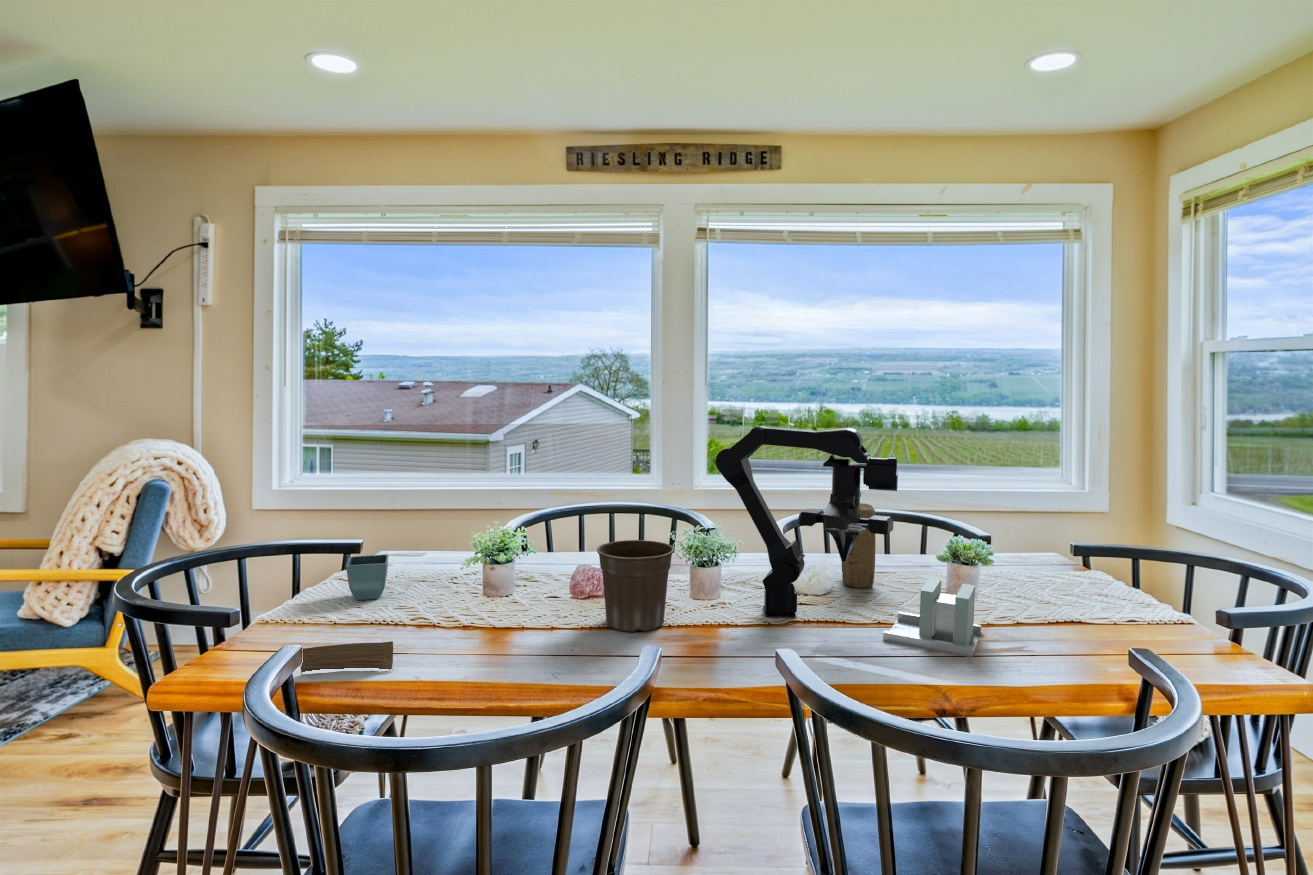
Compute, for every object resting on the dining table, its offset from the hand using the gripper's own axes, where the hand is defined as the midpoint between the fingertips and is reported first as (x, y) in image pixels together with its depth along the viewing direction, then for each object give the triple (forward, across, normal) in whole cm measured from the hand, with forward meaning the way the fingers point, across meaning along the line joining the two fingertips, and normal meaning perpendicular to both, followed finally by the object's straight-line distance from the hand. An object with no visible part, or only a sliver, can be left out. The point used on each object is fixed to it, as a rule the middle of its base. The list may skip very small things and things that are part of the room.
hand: (844, 561), depth 151 cm
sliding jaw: (+12, +18, -2) cm, 22 cm away
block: (+13, -5, +29) cm, 32 cm away
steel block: (+12, +21, -2) cm, 24 cm away
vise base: (+13, +19, -2) cm, 23 cm away
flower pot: (+13, -100, -41) cm, 109 cm away
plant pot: (+13, -37, -24) cm, 46 cm away
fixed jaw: (+12, +24, -2) cm, 27 cm away
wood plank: (+13, -68, -71) cm, 99 cm away
